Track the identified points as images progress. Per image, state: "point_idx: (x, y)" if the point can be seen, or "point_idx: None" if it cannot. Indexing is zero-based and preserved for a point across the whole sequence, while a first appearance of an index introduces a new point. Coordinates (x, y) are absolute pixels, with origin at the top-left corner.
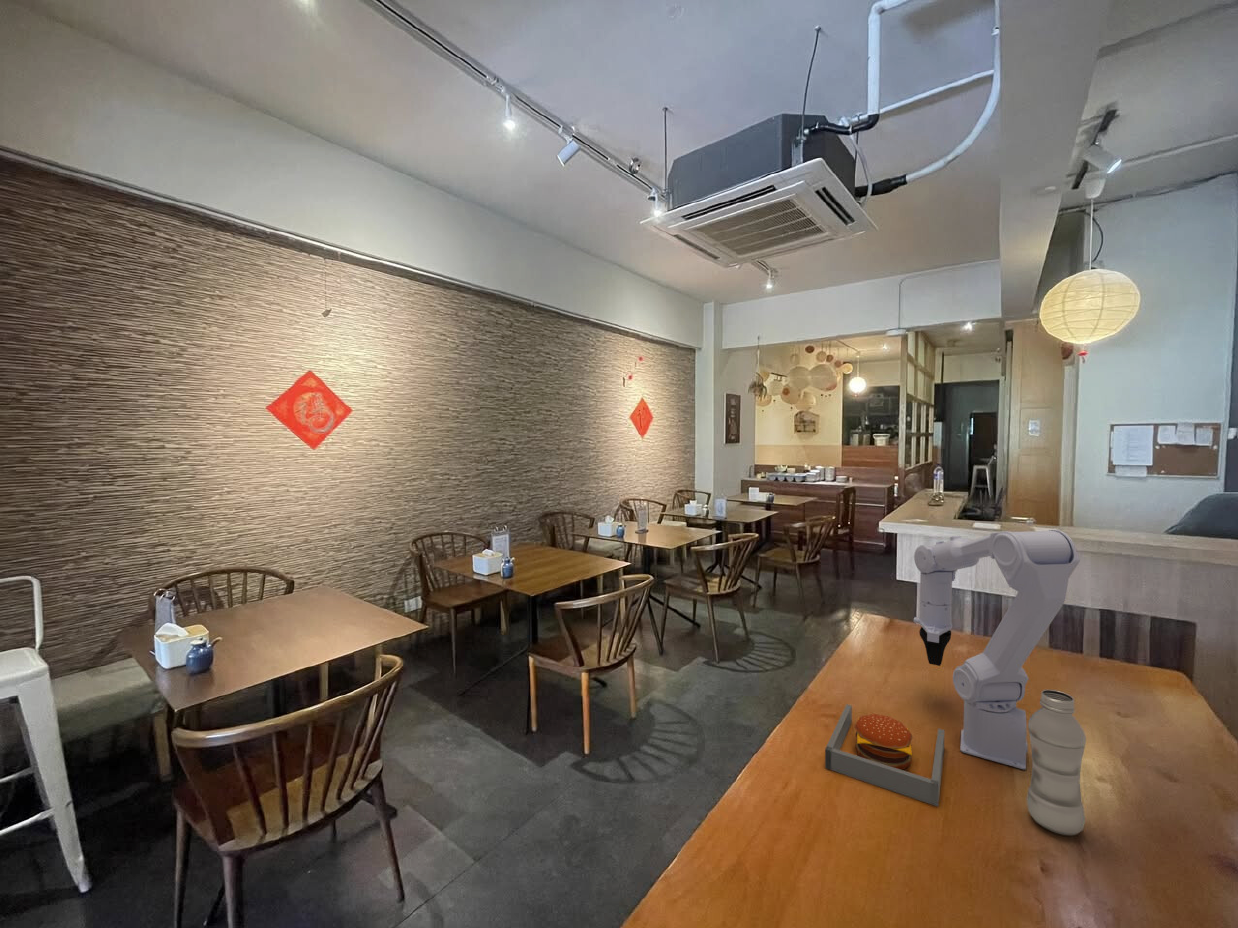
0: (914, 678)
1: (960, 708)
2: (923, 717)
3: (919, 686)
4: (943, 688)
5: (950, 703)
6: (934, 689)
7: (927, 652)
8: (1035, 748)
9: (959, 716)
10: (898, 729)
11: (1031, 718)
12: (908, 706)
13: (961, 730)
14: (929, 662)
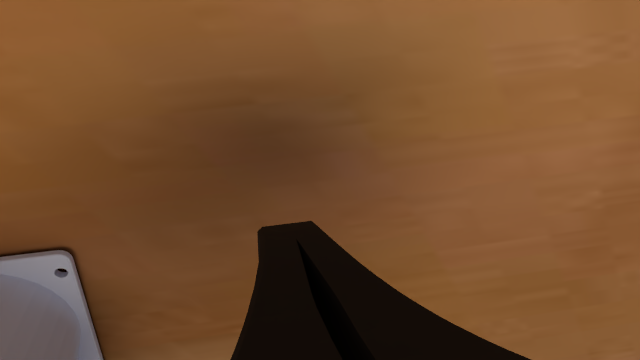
0: (500, 14)
1: (290, 212)
2: (83, 100)
3: (422, 45)
4: (442, 138)
5: (314, 177)
6: (418, 108)
7: (256, 292)
8: None
9: (213, 219)
10: None
11: None
12: (158, 17)
13: (53, 254)
14: (259, 235)
